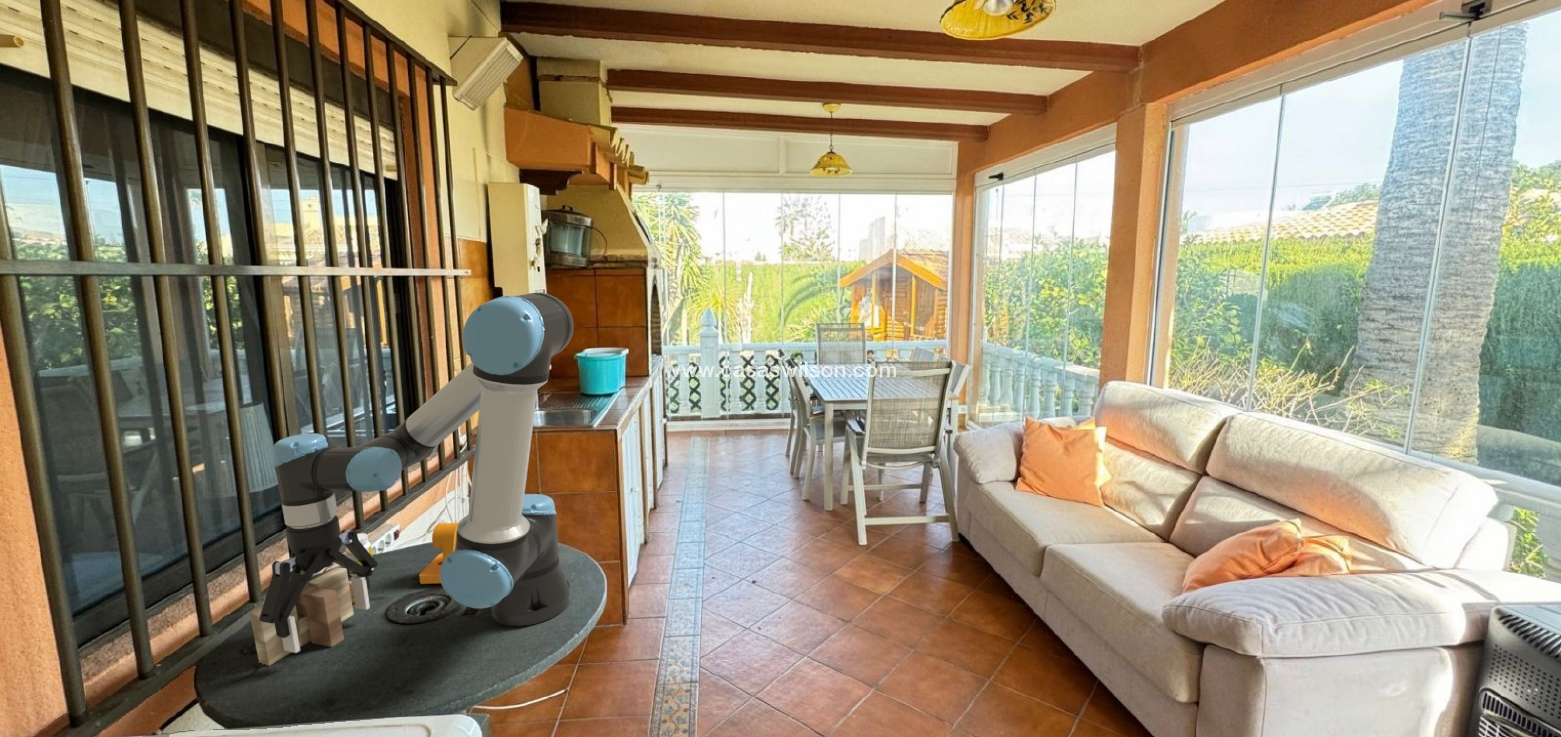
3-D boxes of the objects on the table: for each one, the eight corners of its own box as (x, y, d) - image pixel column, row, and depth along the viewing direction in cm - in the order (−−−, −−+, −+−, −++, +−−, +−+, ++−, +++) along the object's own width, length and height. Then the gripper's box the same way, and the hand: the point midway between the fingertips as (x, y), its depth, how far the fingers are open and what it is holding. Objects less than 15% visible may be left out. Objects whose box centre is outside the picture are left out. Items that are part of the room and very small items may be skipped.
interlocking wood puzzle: (353, 614, 123) (346, 568, 121) (269, 665, 108) (259, 614, 106) (344, 613, 123) (337, 567, 122) (259, 663, 108) (249, 612, 106)
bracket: (442, 563, 143) (436, 514, 141) (474, 561, 144) (468, 513, 142) (418, 587, 133) (412, 536, 131) (453, 586, 133) (447, 534, 131)
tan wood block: (344, 639, 115) (336, 590, 113) (331, 647, 112) (323, 597, 111) (288, 628, 118) (279, 580, 117) (275, 635, 116) (266, 587, 114)
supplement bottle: (363, 565, 143) (358, 531, 141) (379, 567, 141) (374, 533, 140) (344, 575, 138) (338, 540, 136) (361, 578, 137) (355, 543, 135)
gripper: (359, 492, 122) (373, 590, 126) (217, 550, 99) (240, 667, 103) (389, 496, 120) (402, 595, 124) (252, 555, 97) (274, 675, 101)
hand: (329, 628), depth 113 cm, fingers open, 13 cm apart
